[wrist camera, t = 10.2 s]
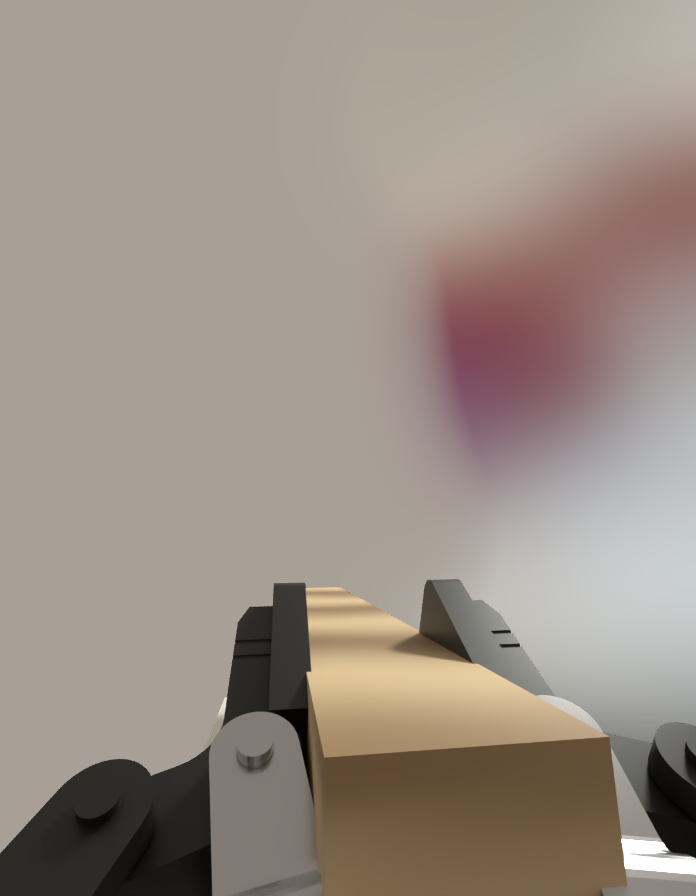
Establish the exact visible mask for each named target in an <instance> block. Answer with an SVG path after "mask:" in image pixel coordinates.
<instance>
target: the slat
mask: <svg viewBox="0 0 696 896" xmlns="http://www.w3.org/2000/svg"><path fill="white" fill-rule="evenodd" d="M306 601H307V615H308V630H309V645H310V659H311V672H306V673H307V691H308V732H307V759H306V773H307V778H308V782H309V787H310V791H311V796H312V800H313V804H314V809H315V827H316V845H317V862H318V872H319V874H321V880H322V888H323V896H601V888H609V887H618V886H626V885H627V877H626V868H625V860H624V852H623V844H622V835H621V827H620V819H619V811H618V803H617V794H616V786H615V778H614V770H613V762H612V753H611V745H610V737H609V736H607V735H605V734H604V733H602V732H600V731H598V730H596V729H595V728H593V727H591V726H589V725H587V724H586V723H584V722H582V721H580V720H578V719H577V718H575V717H573V716H571V715H569V714H568V713H566V712H564V711H562V710H560V709H559V708H557V707H555V706H553V705H551V704H550V703H548V702H546V701H544V700H542V699H541V698H539V697H537V696H535V695H533V694H532V693H530V692H528V691H526V690H524V689H523V688H521V687H519V686H517V685H515V684H514V683H512V682H510V681H508V680H506V679H505V678H503V677H501V676H499V675H497V674H496V673H494V672H492V671H490V670H488V669H487V668H485V667H483V666H481V665H479V664H473V663H471V662H469V661H467V660H466V659H464V658H462V657H460V656H459V655H457V654H455V653H453V652H452V651H450V650H448V649H446V648H445V647H443V646H441V645H439V644H438V643H436V642H434V641H432V640H431V639H429V638H427V637H425V636H424V635H422V634H420V633H419V631H418V630H416V629H414V628H413V627H411V626H409V625H407V624H405V623H404V622H402V621H400V620H398V619H396V618H395V617H393V616H391V615H389V614H387V613H386V612H384V611H382V610H380V609H378V608H376V607H375V606H373V605H371V604H369V603H368V602H366V601H364V600H362V599H360V598H359V597H357V596H355V595H353V594H351V593H350V592H348V591H346V590H344V589H342V588H340V587H329V588H306Z"/></svg>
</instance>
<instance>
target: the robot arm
mask: <svg viewBox="0 0 696 896" xmlns="http://www.w3.org/2000/svg"><path fill="white" fill-rule="evenodd" d="M419 633H420V634H422V635H424V636H425V637H427V638H429V639H431V640H432V641H434V642H436V643H438V644H439V645H441V646H443V647H445V648H446V649H448V650H450V651H452V652H453V653H455V654H457V655H459V656H460V657H462V658H464V659H466V660H467V661H469V662H471V663H473V664H479V665H481V666H483V667H485V668H487V669H488V670H490V671H492V672H494V673H496V674H497V675H499V676H501V677H503V678H505V679H506V680H508V681H510V682H512V683H514V684H515V685H517V686H519V687H521V688H523V689H524V690H526V691H528V692H530V693H532V694H533V695H535V696H537V697H539V698H541V699H542V700H544V701H546V702H548V703H550V704H551V705H553V706H555V707H557V708H559V709H560V710H562V711H564V712H566V713H568V714H569V715H571V716H573V717H575V718H577V719H578V720H580V721H582V722H584V723H586V724H587V725H589V726H591V727H593V728H595V729H596V730H598V731H600V732H602V730H601V728H600V727H599V725H598V724H597V723H596V722H595V720H594V719H593V718H592V717H591V716H590V715H589V714H588V713H587V712H585V711H584V710H583V709H581V708H580V707H578V706H577V705H575V704H573V703H571V702H569V701H567V700H564V699H562V698H559V697H555V695H554V694H553V693H552V691H551V689H550V688H549V686H548V685H547V684H546V682H545V681H544V679H543V678H542V676H541V675H540V673H539V672H538V670H537V669H536V667H535V666H534V664H533V663H532V661H531V660H530V658H529V657H528V655H527V654H526V652H525V651H524V649H523V648H522V647H520V643H519V642H518V640H517V639H516V638H515V636H514V634H513V633H511V631H510V628H509V627H508V625H507V624H506V623H505V621H504V620H503V618H502V617H501V615H500V614H499V613H498V612H497V611H495V610H494V609H493V608H491V607H490V606H489V605H488V604H486V603H485V602H484V601H482V600H475V601H472V599H471V597H470V596H469V594H468V593H467V591H466V589H465V588H464V586H463V584H462V583H461V582H460V580H458V579H452V580H428V581H427V582H426V584H425V588H424V596H423V604H422V614H421V622H420V630H419ZM306 672H311V659H310V645H309V630H308V615H307V601H306V586H305V583H274V594H273V606H267V607H266V606H264V607H249V609H248V610H247V611H246V613H245V614H244V615H243V617H242V618H241V619H240V621H239V622H238V627H237V633H236V640H235V647H234V653H233V660H232V667H231V674H230V681H229V687H228V694H227V701H226V708H225V715H224V720H223V725H222V727H221V729H220V731H219V732H218V733H217V735H216V736H215V738H214V740H213V742H212V743H211V745H210V746H209V747H208V748H206V749H205V750H204V751H203V752H202V753H201V754H199V755H198V756H197V757H195V758H193V759H192V760H190V761H188V762H186V763H184V764H181V765H179V766H176V767H174V768H171V769H168V770H166V771H163V772H160V773H158V774H155V775H152V776H151V775H150V773H149V772H148V771H147V769H146V768H145V767H143V766H142V765H141V764H139V763H137V762H135V761H131V760H126V759H115V760H108V761H104V762H100V763H98V764H95V765H92V766H90V767H88V768H86V769H84V770H83V771H81V772H79V773H78V774H76V775H75V776H73V777H72V778H71V779H70V780H68V781H67V782H66V783H65V784H64V785H63V786H62V787H61V788H60V789H59V790H58V791H57V792H56V793H55V794H54V795H53V797H52V798H51V799H50V800H49V801H48V802H47V803H46V804H45V805H44V806H43V807H42V809H41V810H40V811H39V812H38V813H37V814H36V815H35V816H34V817H33V818H32V819H31V820H30V822H29V823H28V824H27V825H26V826H25V827H24V828H23V829H22V830H21V832H20V833H19V834H18V835H17V836H16V837H15V838H14V839H13V840H12V841H11V842H10V843H9V845H8V846H7V847H6V848H5V849H4V850H3V851H2V852H1V853H0V896H323V888H322V880H321V874H319V872H318V862H317V845H316V827H315V809H314V804H313V800H312V796H311V791H310V787H309V782H308V778H307V773H306V759H307V732H308V691H307V673H306ZM602 733H604V734H605V735H607V736H609V737H610V745H611V753H612V762H613V770H614V778H615V786H616V794H617V803H618V811H619V819H620V827H621V835H622V844H623V852H624V860H625V868H626V877H627V885H626V886H618V887H609V888H601V896H696V726H693V725H689V724H685V723H677V722H673V723H666V724H664V725H662V726H660V727H659V728H658V729H657V731H656V734H655V737H654V740H653V743H648V742H644V741H639V740H635V739H630V738H626V737H620V736H616V735H612V734H608V733H605V732H602Z"/></svg>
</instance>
